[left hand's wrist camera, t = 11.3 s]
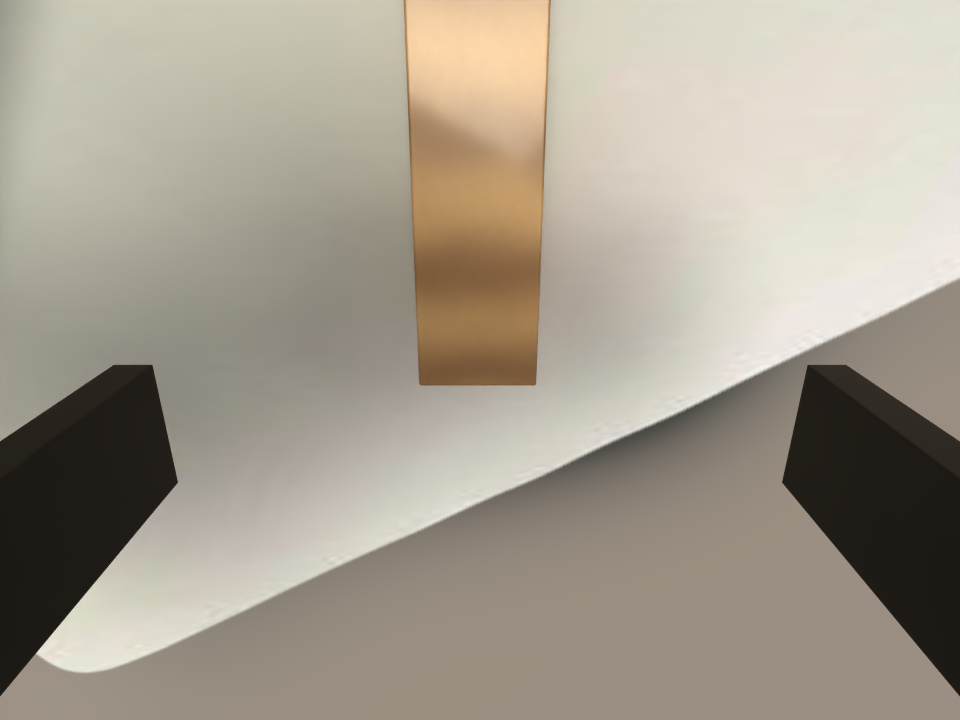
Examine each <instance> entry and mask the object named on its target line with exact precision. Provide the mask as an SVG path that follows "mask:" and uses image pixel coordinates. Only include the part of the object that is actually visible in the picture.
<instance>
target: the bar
mask: <svg viewBox="0 0 960 720" xmlns="http://www.w3.org/2000/svg"><path fill="white" fill-rule="evenodd" d="M550 4H551V0H404V16H405V41H406V66H407V90H408V115H409V140H410V165H411V190H412V215H413V240H414V265H415V290H416V315H417V340H418V364H419V384H420V385H535V384H536V371H537V344H538V318H539V292H540V266H541V240H542V213H543V187H544V161H545V135H546V109H547V82H548V56H549V30H550Z"/></svg>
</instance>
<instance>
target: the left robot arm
mask: <svg viewBox="0 0 960 720" xmlns="http://www.w3.org/2000/svg"><path fill="white" fill-rule="evenodd" d="M177 483H178V481H177V476H176V472H175V467H174V462H173V458H172V453H171V449H170V444H169V439H168V435H167V430H166V426H165V421H164V416H163V412H162V407H161V403H160V398H159V393H158V389H157V384H156V380H155V375H154V371H153V366H152V365H113V366H112V367H110V368H109V369H107V370H106V371H104V372H103V373H101V374H100V375H98V376H97V377H95V378H94V379H92V380H91V381H89V382H88V383H86V384H85V385H84V386H82V387H81V388H79V389H78V390H76V391H75V392H73V393H72V394H70V395H69V396H67V397H66V398H64V399H63V400H61V401H60V402H58V403H57V404H55V405H54V406H52V407H51V408H49V409H48V410H46V411H45V412H43V413H42V414H40V415H39V416H37V417H36V418H34V419H33V420H31V421H30V422H28V423H27V424H25V425H24V426H23V427H21V428H20V429H18V430H17V431H15V432H14V433H12V434H11V435H9V436H8V437H6V438H5V439H3V440H2V441H0V696H1V695H2V693H3V692H4V691H5V690H6V689H7V687H8V686H9V685H10V684H11V683H12V681H13V680H14V679H15V678H16V677H17V675H18V674H19V673H20V672H21V671H22V669H23V668H24V667H25V666H26V665H27V663H28V662H29V661H30V660H31V658H32V657H33V656H34V655H35V654H36V653H37V651H38V650H39V649H40V648H41V647H42V645H43V644H44V643H45V642H46V640H47V639H48V638H49V637H50V636H51V634H52V633H53V632H54V631H55V630H56V628H57V627H58V626H59V625H60V624H61V622H62V621H63V620H64V619H65V618H66V616H67V615H68V614H69V613H70V612H71V610H72V609H73V608H74V607H75V606H76V604H77V603H78V602H79V601H80V600H81V598H82V597H83V596H84V595H85V594H86V592H87V591H88V590H89V589H90V588H91V586H92V585H93V584H94V583H95V582H96V580H97V579H98V578H99V577H100V576H101V574H102V573H103V572H104V571H105V570H106V568H107V567H108V566H109V565H110V563H111V562H112V561H113V560H114V559H115V557H116V556H117V555H118V554H119V553H120V551H121V550H122V549H123V548H124V547H125V545H126V544H127V543H128V542H129V541H130V539H131V538H132V537H133V536H134V535H135V533H136V532H137V531H138V530H139V529H140V527H141V526H142V525H143V524H144V523H145V521H146V520H147V519H148V518H149V517H150V515H151V514H152V513H153V512H154V511H155V509H156V508H157V507H158V506H159V505H160V503H161V502H162V501H163V500H164V499H165V497H166V496H167V495H168V494H169V493H170V491H171V490H172V489H173V488H174V487H175V485H176V484H177ZM782 483H783V484H784V485H785V487H786V488H787V489H788V490H789V491H790V492H791V494H792V495H793V496H794V497H795V499H796V500H797V501H798V502H799V503H800V505H801V506H802V507H803V508H804V509H805V511H806V512H807V513H808V514H809V515H810V517H811V518H812V519H813V520H814V521H815V523H816V524H817V525H818V526H819V527H820V529H821V530H822V531H823V532H824V533H825V535H826V536H827V537H828V538H829V539H830V541H831V542H832V543H833V544H834V545H835V547H836V548H837V549H838V550H839V551H840V553H841V554H842V555H843V556H844V557H845V559H846V560H847V561H848V562H849V563H850V565H851V566H852V567H853V568H854V570H855V571H856V572H857V573H858V574H859V576H860V577H861V578H862V579H863V580H864V582H865V583H866V584H867V585H868V586H869V588H870V589H871V590H872V591H873V592H874V594H875V595H876V596H877V597H878V598H879V600H880V601H881V602H882V603H883V604H884V606H885V607H886V608H887V609H888V610H889V612H890V613H891V614H892V615H893V616H894V618H895V619H896V620H897V621H898V622H899V624H900V625H901V626H902V627H903V628H904V630H905V631H906V632H907V633H908V634H909V636H910V637H911V638H912V639H913V640H914V642H915V643H916V644H917V645H918V646H919V648H920V649H921V650H922V651H923V653H924V654H925V655H926V656H927V657H928V659H929V660H930V661H931V662H932V663H933V665H934V666H935V667H936V668H937V669H938V671H939V672H940V673H941V674H942V675H943V677H944V678H945V679H946V680H947V681H948V683H949V684H950V685H951V686H952V687H953V689H954V690H955V691H956V692H957V693H958V695H959V696H960V441H958V440H957V439H955V438H954V437H952V436H951V435H949V434H948V433H946V432H945V431H943V430H942V429H940V428H939V427H937V426H936V425H935V424H933V423H932V422H930V421H929V420H927V419H925V418H924V417H923V416H921V415H920V414H918V413H917V412H915V411H914V410H912V409H911V408H909V407H908V406H906V405H905V404H903V403H902V402H900V401H899V400H897V399H896V398H894V397H893V396H891V395H890V394H888V393H887V392H885V391H884V390H882V389H881V388H879V387H878V386H876V385H875V384H874V383H872V382H871V381H869V380H868V379H866V378H865V377H863V376H862V375H860V374H859V373H857V372H856V371H854V370H853V369H851V368H850V367H848V366H847V365H808V366H807V371H806V375H805V380H804V384H803V389H802V394H801V398H800V403H799V407H798V412H797V417H796V421H795V426H794V430H793V435H792V439H791V444H790V449H789V453H788V458H787V463H786V467H785V472H784V476H783V481H782Z"/></svg>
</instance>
